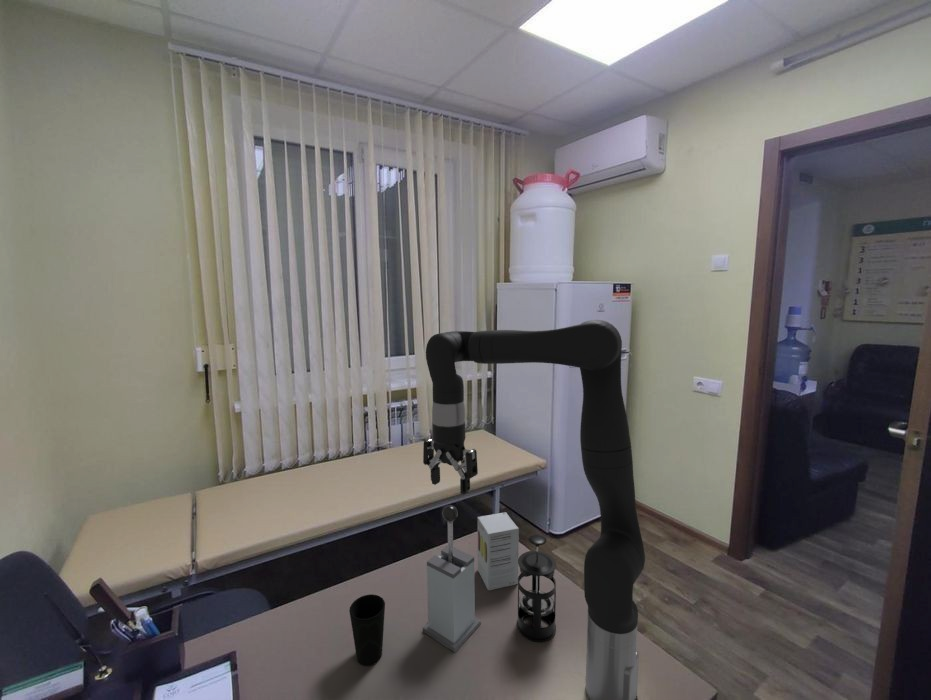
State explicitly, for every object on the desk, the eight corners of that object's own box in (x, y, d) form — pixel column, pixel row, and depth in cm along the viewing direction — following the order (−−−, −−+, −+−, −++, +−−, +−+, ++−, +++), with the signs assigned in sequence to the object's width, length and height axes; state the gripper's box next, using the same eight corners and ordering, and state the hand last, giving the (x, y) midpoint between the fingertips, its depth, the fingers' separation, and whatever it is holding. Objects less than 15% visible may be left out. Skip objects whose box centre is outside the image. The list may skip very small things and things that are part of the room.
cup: (351, 674, 87) (349, 623, 86) (351, 645, 95) (349, 597, 93) (388, 665, 89) (386, 615, 88) (385, 637, 97) (383, 591, 95)
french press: (557, 646, 94) (559, 553, 91) (516, 642, 95) (517, 550, 92) (553, 608, 105) (555, 524, 102) (517, 605, 107) (517, 522, 104)
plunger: (468, 570, 98) (467, 504, 96) (452, 583, 94) (451, 515, 92) (449, 561, 102) (448, 497, 100) (433, 573, 97) (432, 507, 95)
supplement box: (476, 569, 121) (476, 516, 119) (505, 563, 123) (505, 510, 121) (488, 591, 112) (488, 533, 109) (519, 584, 114) (519, 527, 112)
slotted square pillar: (480, 624, 100) (480, 556, 98) (455, 652, 93) (454, 579, 90) (449, 606, 106) (447, 541, 104) (422, 631, 99) (420, 561, 96)
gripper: (483, 421, 92) (484, 490, 94) (435, 411, 100) (437, 474, 102) (463, 430, 86) (464, 503, 88) (414, 418, 94) (416, 485, 96)
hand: (449, 488), depth 95 cm, fingers open, 8 cm apart
